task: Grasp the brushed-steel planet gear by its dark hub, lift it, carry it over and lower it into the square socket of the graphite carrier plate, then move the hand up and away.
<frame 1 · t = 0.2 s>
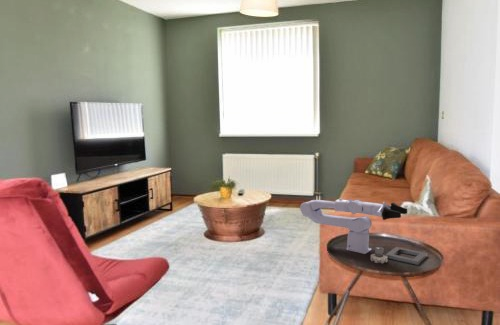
hand: (403, 213, 179), 21 cm above the table, tool horizontal, fingers open, 7 cm apart
carrier plate: (406, 257, 184), on the table
planet gear: (378, 260, 180), on the table
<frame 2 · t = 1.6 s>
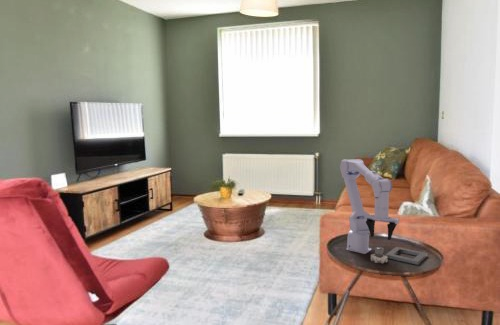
hand: (380, 237, 178), 10 cm above the table, tool pointing down, fingers open, 7 cm apart
nothing on the table moved.
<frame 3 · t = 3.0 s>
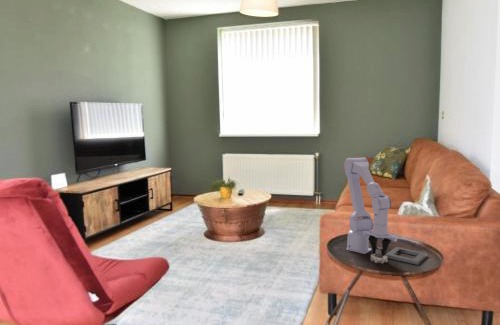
hand: (379, 254, 179), 3 cm above the table, tool pointing down, fingers closed on planet gear, 4 cm apart
planet gear: (378, 260, 180), on the table, touching gripper
when the fingers open (4 cm above the table, at t = 6.6 s): planet gear drops 1 cm, resting in carrier plate.
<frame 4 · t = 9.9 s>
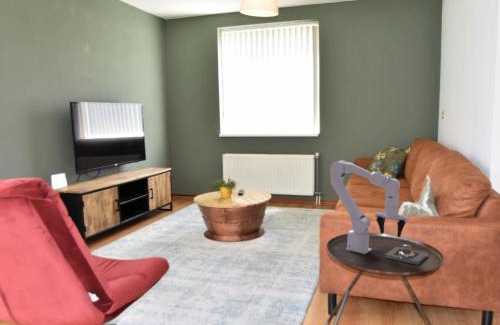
hand: (390, 234, 186), 9 cm above the table, tool pointing down, fingers open, 7 cm apart
planet gear: (406, 257, 184), resting in carrier plate
at the end: planet gear 0.2 cm off-centre on the carrier plate, point 0.0 cm above the carrier plate's base; planet gear tilted 0°; the gripper is holding nothing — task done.
